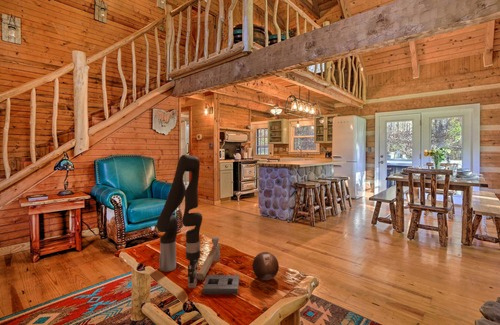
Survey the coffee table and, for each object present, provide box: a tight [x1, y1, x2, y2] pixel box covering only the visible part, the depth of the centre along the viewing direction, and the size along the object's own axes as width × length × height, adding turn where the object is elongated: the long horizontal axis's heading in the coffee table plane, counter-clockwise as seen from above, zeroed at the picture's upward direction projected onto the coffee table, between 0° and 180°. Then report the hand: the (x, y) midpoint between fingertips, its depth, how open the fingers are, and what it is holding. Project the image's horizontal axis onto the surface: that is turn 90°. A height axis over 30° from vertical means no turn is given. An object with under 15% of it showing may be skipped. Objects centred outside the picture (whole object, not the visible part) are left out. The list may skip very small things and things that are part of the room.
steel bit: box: [187, 269, 198, 289], centre depth 137 cm, size 4×4×8 cm
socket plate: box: [202, 274, 240, 295], centre depth 135 cm, size 18×14×3 cm
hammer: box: [197, 235, 221, 281], centre depth 156 cm, size 16×5×30 cm
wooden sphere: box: [251, 251, 280, 281], centre depth 144 cm, size 15×15×15 cm
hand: (193, 278), depth 137 cm, fingers open, 8 cm apart
